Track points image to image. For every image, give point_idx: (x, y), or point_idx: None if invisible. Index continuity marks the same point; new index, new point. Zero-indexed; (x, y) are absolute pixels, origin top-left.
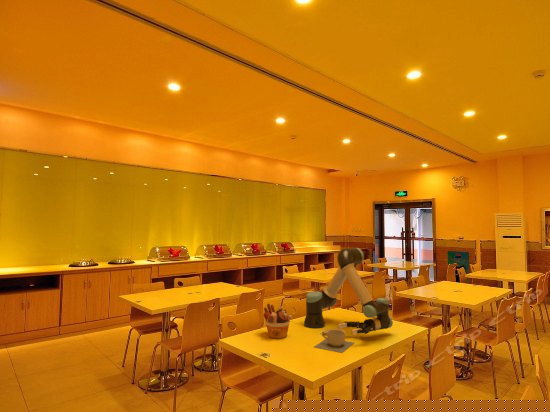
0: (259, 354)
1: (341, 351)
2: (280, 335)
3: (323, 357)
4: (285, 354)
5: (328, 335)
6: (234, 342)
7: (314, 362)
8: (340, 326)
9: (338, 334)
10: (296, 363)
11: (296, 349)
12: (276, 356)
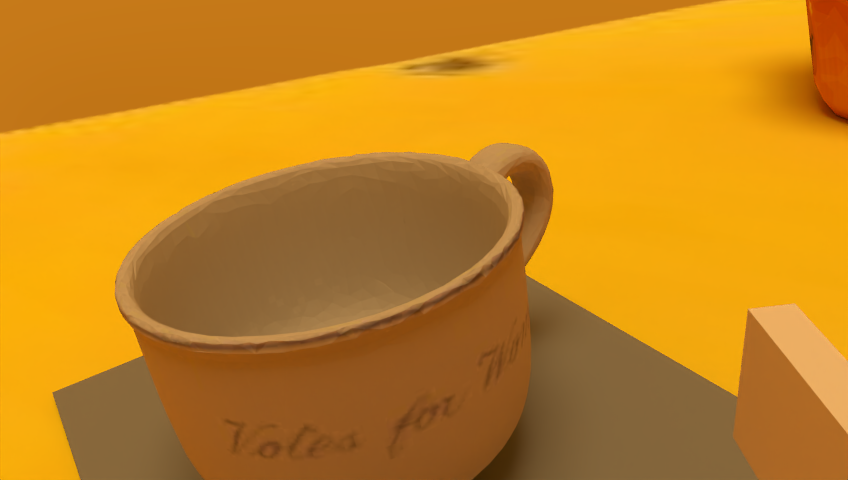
0: (470, 56)
1: (90, 399)
2: (819, 75)
3: (143, 236)
4: (395, 110)
5: (348, 189)
6: (740, 9)
7: (124, 182)
8: (774, 428)
9: (452, 392)
10: (206, 128)
11: (462, 151)
12: (390, 88)
